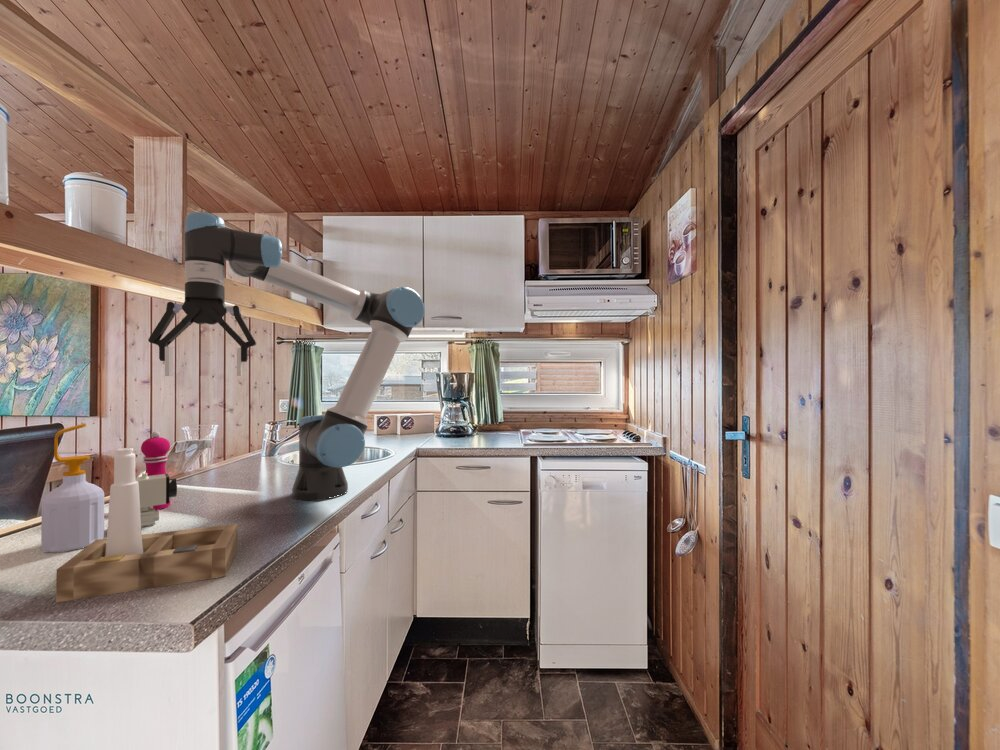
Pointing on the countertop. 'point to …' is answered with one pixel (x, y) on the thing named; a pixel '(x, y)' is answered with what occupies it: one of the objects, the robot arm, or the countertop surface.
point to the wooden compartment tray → (149, 563)
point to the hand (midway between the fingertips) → (205, 376)
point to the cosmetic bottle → (124, 508)
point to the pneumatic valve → (154, 495)
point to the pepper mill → (155, 457)
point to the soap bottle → (72, 507)
